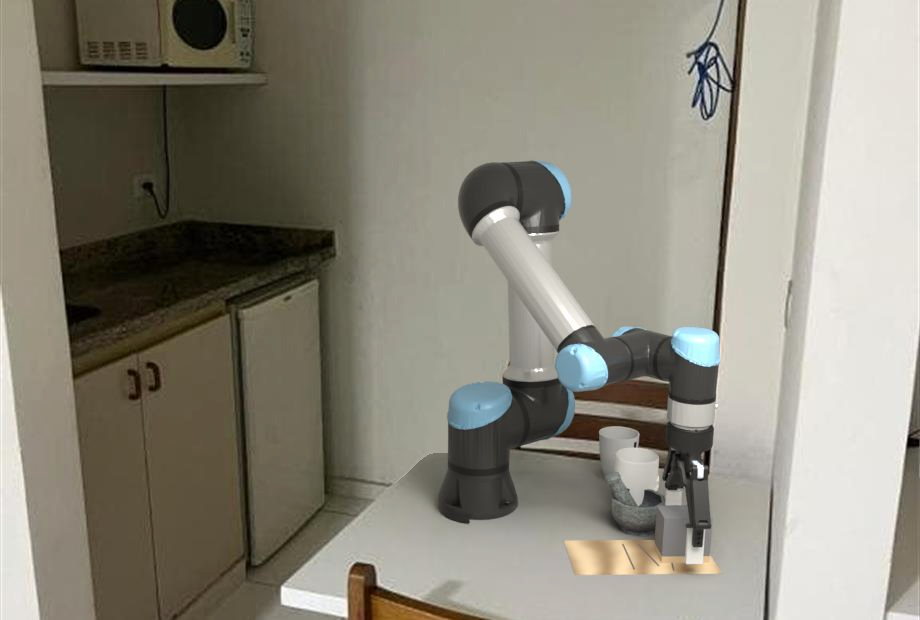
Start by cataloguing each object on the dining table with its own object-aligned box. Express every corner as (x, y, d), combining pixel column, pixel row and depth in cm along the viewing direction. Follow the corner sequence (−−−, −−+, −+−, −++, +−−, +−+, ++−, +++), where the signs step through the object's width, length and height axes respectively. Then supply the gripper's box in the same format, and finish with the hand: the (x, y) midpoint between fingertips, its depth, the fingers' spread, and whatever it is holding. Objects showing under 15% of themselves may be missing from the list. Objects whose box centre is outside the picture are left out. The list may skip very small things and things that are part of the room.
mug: (642, 497, 181) (645, 439, 178) (662, 523, 169) (666, 462, 167) (601, 498, 180) (604, 440, 177) (619, 525, 168) (622, 464, 166)
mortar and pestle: (652, 520, 171) (655, 459, 168) (672, 543, 162) (676, 479, 159) (594, 524, 169) (596, 463, 166) (611, 548, 160) (615, 483, 157)
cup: (636, 488, 185) (639, 441, 183) (595, 484, 187) (598, 438, 184) (637, 473, 193) (639, 427, 191) (598, 469, 194) (600, 424, 192)
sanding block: (661, 563, 152) (664, 518, 151) (654, 549, 157) (656, 505, 156) (709, 562, 153) (712, 518, 151) (700, 548, 158) (703, 505, 156)
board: (574, 580, 149) (574, 574, 148) (563, 545, 160) (563, 540, 160) (721, 578, 150) (722, 573, 149) (699, 544, 161) (700, 539, 161)
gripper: (738, 450, 138) (728, 580, 143) (691, 399, 162) (683, 511, 167) (689, 450, 138) (680, 580, 142) (649, 399, 162) (642, 511, 167)
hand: (682, 543), depth 155 cm, fingers open, 13 cm apart
